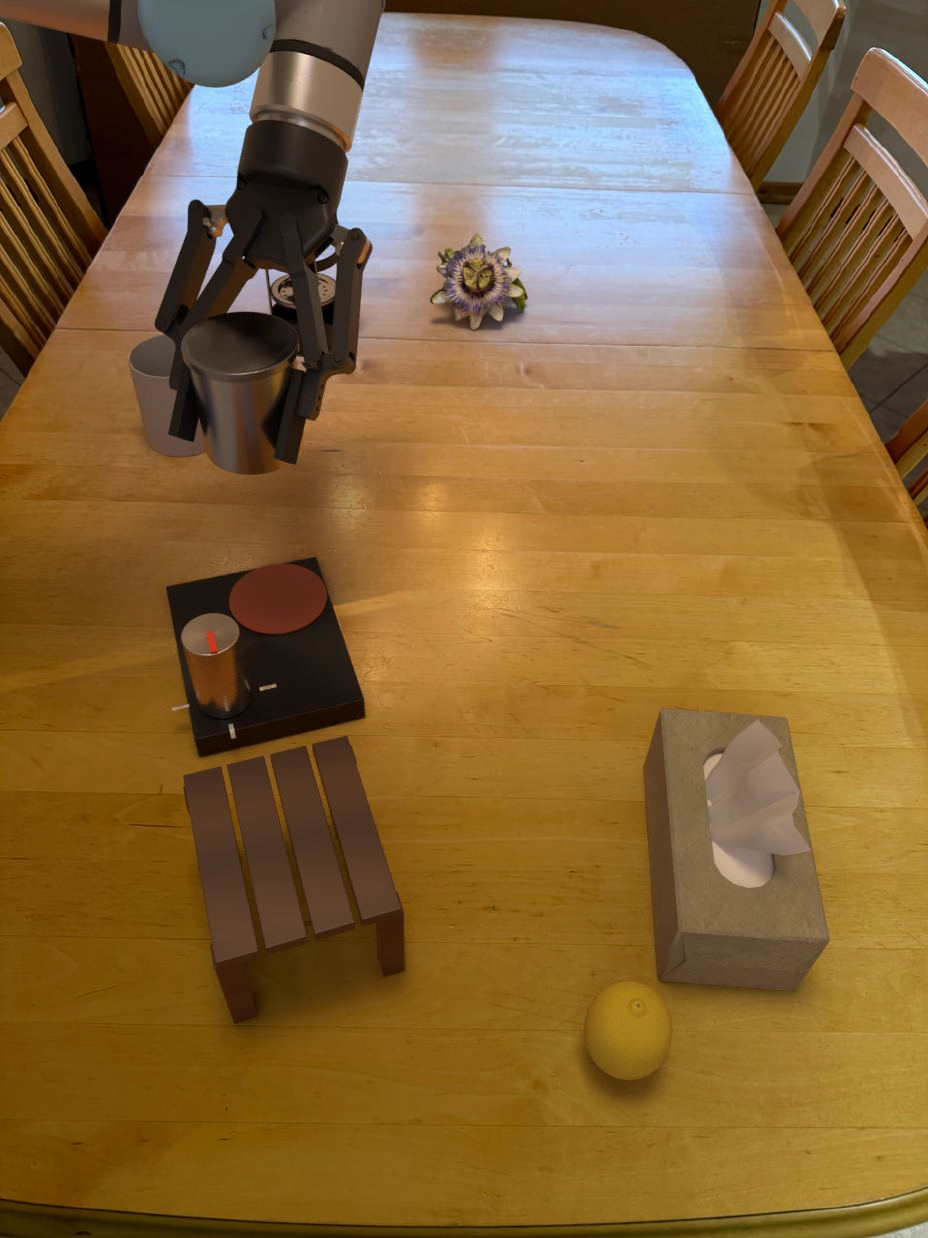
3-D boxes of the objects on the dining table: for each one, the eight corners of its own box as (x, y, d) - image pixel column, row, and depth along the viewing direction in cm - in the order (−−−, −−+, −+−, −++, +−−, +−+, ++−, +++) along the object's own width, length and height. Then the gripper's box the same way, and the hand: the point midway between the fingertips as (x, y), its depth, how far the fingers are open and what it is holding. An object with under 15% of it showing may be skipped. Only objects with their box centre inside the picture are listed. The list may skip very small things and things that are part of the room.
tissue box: (796, 996, 69) (873, 888, 58) (657, 985, 69) (705, 875, 58) (760, 771, 82) (817, 646, 70) (642, 762, 82) (679, 636, 71)
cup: (131, 437, 109) (110, 358, 102) (185, 402, 114) (169, 324, 107) (186, 466, 106) (168, 387, 99) (239, 429, 111) (227, 351, 103)
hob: (156, 607, 92) (150, 587, 90) (317, 574, 96) (315, 555, 94) (184, 769, 80) (179, 750, 78) (367, 724, 84) (366, 705, 82)
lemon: (658, 1104, 64) (682, 1060, 58) (573, 1087, 65) (588, 1042, 59) (661, 1019, 68) (684, 970, 62) (581, 1004, 68) (596, 954, 62)
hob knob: (194, 684, 83) (176, 616, 77) (246, 672, 84) (233, 605, 78) (202, 724, 80) (184, 658, 74) (256, 711, 81) (243, 645, 75)
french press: (272, 361, 120) (249, 170, 103) (260, 321, 126) (236, 134, 109) (367, 348, 123) (359, 160, 106) (350, 310, 129) (340, 126, 112)
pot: (194, 421, 78) (173, 319, 72) (296, 405, 80) (285, 304, 74) (210, 486, 73) (189, 382, 66) (319, 466, 75) (309, 363, 68)
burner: (221, 575, 92) (221, 574, 92) (315, 557, 94) (315, 555, 94) (238, 644, 86) (238, 642, 86) (337, 622, 88) (337, 621, 88)
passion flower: (473, 363, 131) (424, 307, 122) (460, 307, 137) (412, 249, 127) (547, 321, 127) (503, 259, 118) (531, 265, 133) (487, 202, 123)
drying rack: (202, 849, 75) (179, 775, 68) (356, 808, 78) (350, 734, 71) (234, 1027, 66) (211, 964, 59) (406, 973, 69) (405, 907, 62)
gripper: (444, 183, 74) (377, 484, 75) (193, 142, 77) (132, 430, 78) (422, 136, 66) (348, 471, 67) (145, 93, 70) (79, 412, 71)
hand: (232, 449), depth 73 cm, fingers closed on pot, 8 cm apart
